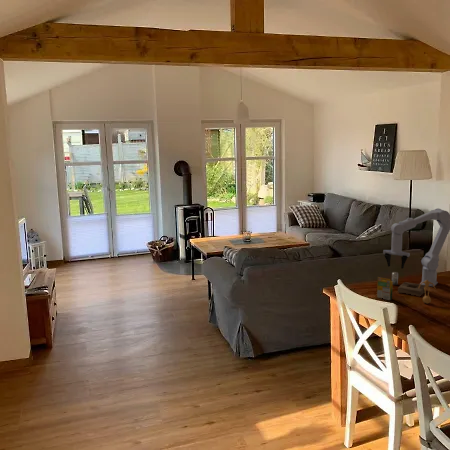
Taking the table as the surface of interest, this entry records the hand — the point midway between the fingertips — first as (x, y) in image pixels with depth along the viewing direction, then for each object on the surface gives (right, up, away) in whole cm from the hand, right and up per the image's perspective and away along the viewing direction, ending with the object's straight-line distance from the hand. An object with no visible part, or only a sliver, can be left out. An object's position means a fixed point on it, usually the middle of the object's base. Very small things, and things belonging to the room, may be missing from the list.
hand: (395, 267), depth 273 cm
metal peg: (0, -10, +2) cm, 11 cm away
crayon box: (-14, -15, -21) cm, 29 cm away
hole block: (+5, -13, -11) cm, 18 cm away
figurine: (+5, -16, -29) cm, 33 cm away
